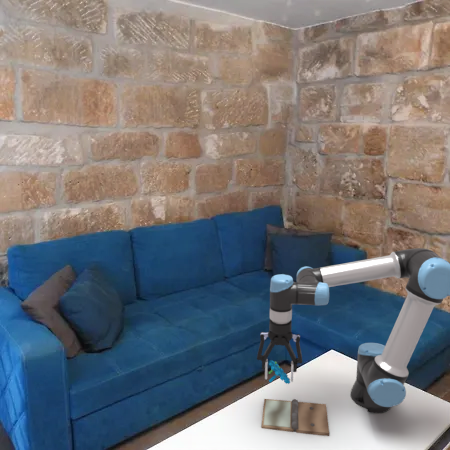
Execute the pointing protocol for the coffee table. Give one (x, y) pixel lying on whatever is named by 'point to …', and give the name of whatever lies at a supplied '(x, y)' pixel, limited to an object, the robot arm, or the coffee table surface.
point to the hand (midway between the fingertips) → (279, 378)
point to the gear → (278, 372)
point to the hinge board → (295, 417)
